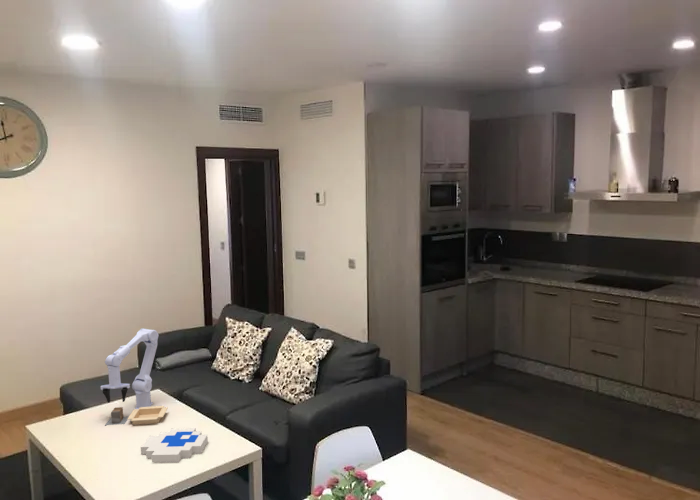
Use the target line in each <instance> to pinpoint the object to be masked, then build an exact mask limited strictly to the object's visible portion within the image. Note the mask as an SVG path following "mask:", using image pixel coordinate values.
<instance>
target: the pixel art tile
mask: <svg viewBox="0 0 700 500" xmlns="http://www.w3.org/2000/svg"><path fill="white" fill-rule="evenodd" d="M208 441H209V437H208V434H202V431H201V430H200V431H199V430H197V431H196V427H186V428H185V427H182V428H181V427H179V428H175V427H174V428H171V429H170V430H169V431H161V432H160V433H159V434H158V435H149V436H148V437H147V439H146V440H145V441H144V442H143V444H142V445H141V446H140V455H141V456H143V455H145V454H146V455H145V457H146V459H147V458H150V459H151V463H152V462H160V463H179V462H180V461H181V460H182V459H188V458H189V459H190V458H191V457H192V456H193V455H195V454H196V455H198V454H202V453H203V451H204V450H205V448H206V446H207V444H208Z"/></svg>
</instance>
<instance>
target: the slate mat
mask: <svg viewBox="0 0 700 500" xmlns="http://www.w3.org/2000/svg"><path fill="white" fill-rule="evenodd" d="M129 416H130V415H129ZM129 416H123V419H122V421H121V422H120V423H116V424H112V421H111V417H109V419H108V420H107V422H106V423H105V424H104V427H106V426H114V425H115V426H116V425H125V424H126V423H127V421H128V420H129V419H128V417H129ZM127 419H128V420H127Z"/></svg>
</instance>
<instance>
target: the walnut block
mask: <svg viewBox="0 0 700 500" xmlns="http://www.w3.org/2000/svg"><path fill="white" fill-rule="evenodd" d="M123 417H124V408H123V406H121V407H120V406H119V407H114V408H113V410H111V412H110V418H111V421H112V424H116V423H120V422H121V421H122V419H123Z"/></svg>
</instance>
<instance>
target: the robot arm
mask: <svg viewBox="0 0 700 500" xmlns="http://www.w3.org/2000/svg"><path fill="white" fill-rule="evenodd" d="M158 339H159V333H158V331H157V330H156V329H150V328H149V329H148V328H143V327H141V328H140V329H139V330H138V331H137V332H136V335H134V336H133V337H132V339H130V341H129V342H127V344H125V345H119V348H118V349H117V350H115V351H114V352H113V353H112V354H109V355H108V356H107V357H106V358H105V360H104V363H105V365H106V368H107V371H108V372H107V373H108V382H109V383H108V384H104V385H103V384H102V385H100V390H101V391H102V394H103V395H104V396H105V398H106V402H107V403H108V404H109V403H111V390H115V389H117V390H118V389H119V390H121V391H120V392H121V396H122V397H121V398H122V403H124V402H125V401H126V396H127V393H128V390H129V389H130V388H132V390H134V393H135V402H136V406H135V407H134V409H139V408H140V407H151V406H153V404H154V403H153V401H152V399H151V398H152V397H151V396H152V395H151V390H152V388H153V384H152V382H153V379H152V377H151V376H150V375H151V371H152V367H153V365H154V364H153V363H154V359H155V355H156V352H157V349H158ZM141 342H143V343H144V344H145V346H146V347H145V352H144V354H143V355H144V356H143V359H142V363H141V368H140V370H139V373H138V374H137V375H136V376H135V378H134V380H133V382H132V384H131V383H122V380H121V370H120V368H121V367H120V366H121V364H122V361H124V360H123V359H125V358H127V356H128V355H129V354H130V353H131V350H132V349H133V348H135V347H136V346H137V345H139V344H140V343H141ZM130 385H131V386H130Z"/></svg>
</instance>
